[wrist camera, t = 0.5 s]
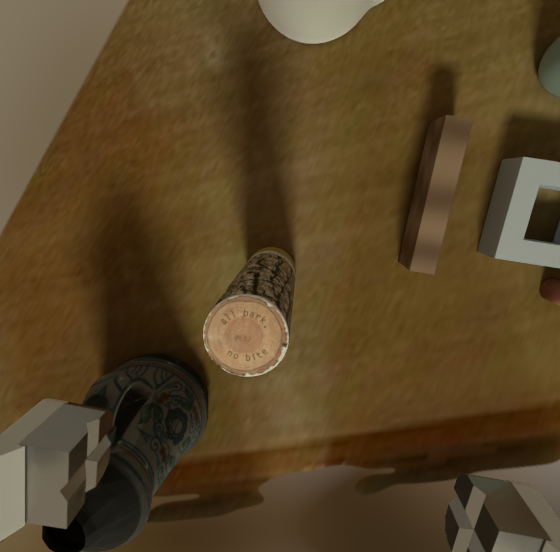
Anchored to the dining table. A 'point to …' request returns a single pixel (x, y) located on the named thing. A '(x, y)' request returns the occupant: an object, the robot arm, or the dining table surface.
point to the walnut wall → (434, 192)
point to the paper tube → (253, 315)
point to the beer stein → (135, 448)
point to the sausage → (551, 290)
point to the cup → (551, 69)
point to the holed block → (520, 212)
